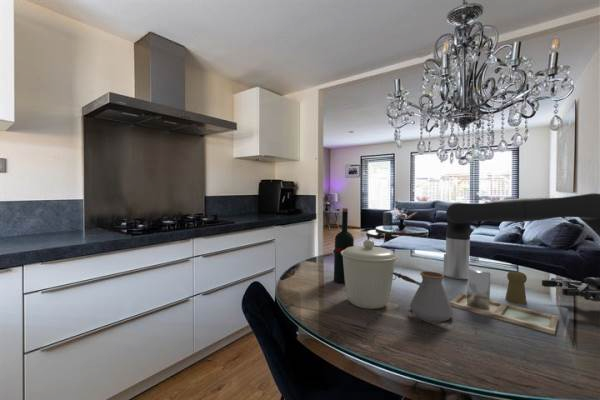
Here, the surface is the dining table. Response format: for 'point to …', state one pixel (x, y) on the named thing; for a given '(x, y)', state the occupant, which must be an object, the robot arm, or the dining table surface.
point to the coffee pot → (430, 298)
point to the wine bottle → (341, 248)
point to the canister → (368, 274)
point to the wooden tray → (512, 314)
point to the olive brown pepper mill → (516, 288)
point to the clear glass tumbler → (478, 289)
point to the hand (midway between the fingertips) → (552, 287)
